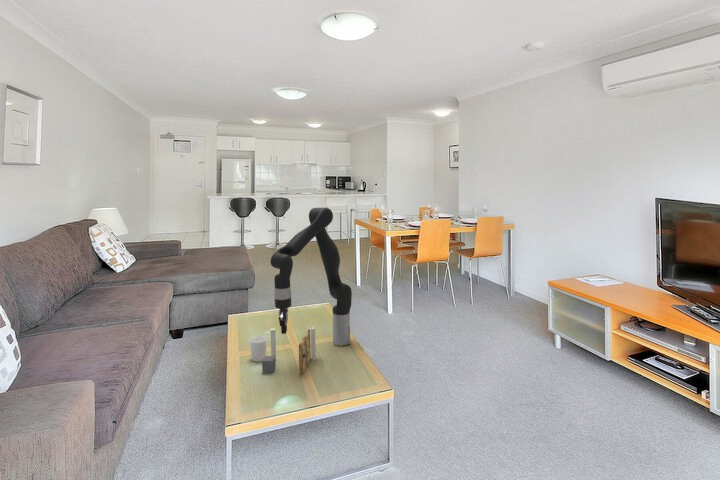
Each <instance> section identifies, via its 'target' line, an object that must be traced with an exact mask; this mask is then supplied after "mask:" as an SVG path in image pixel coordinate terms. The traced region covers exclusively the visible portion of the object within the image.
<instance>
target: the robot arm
mask: <svg viewBox="0 0 720 480" xmlns="http://www.w3.org/2000/svg"><path fill="white" fill-rule="evenodd" d="M308 219H309V220H308V221H309V223H310V224H309V225H308V226H307V227H305V228H304V229H302V230H301V231H299V232H298V233H296V234H295V235H294V236H293V237H292V238H291V239H290V240H289V241H288V242H287V244H285V245H284V246H282V247H280V248H279V249H278V250H276V252H274V253H273V254H272V256H271V258H270V265H271V267H272V268H275V269H279V273H277V274H276V275H275V276H274V280H273V281H274V282H273V283H274V295H273V296H274V307H275V308H276V309H279V311H278V322H279V327H280V330H281V331H280V332H281V334H282V335H286V334H287V331H288V320H289V319H288V318H289V308H291V307H292V289H291V276H292V271H293V267H294V260H293V258H292V257H297V256H298V255H299V254H300V253H301V252H302V251H303V250H304V248H305V247H306V246H307V245H308V244H309V243H310V242H311V241H312V240H313V239H314V238H315V239H316V243H317V247H318V250H319V254H320V258H321V260H322V263H323V267H324V272H325V274H326V275H325V276H326V279H327V283H328V284H327V285H328V291H329V295H330V296H331V297H332V298H333V299H335V300H336V305H334V306H333V307H332V344H333V345H334V344H335V346H337V345H339V346H338V347H344V346H343V345H346V346H348V345H347V344H350V345H351V320H350V319H351V317H350V316H351V313H350V312H351V307H352V297H353V292H352V288H351V286H350V285H348V284H346V283H343V282H342V280H341V276H340V271H339V270H340V264H341V257H340V253H339V249H338V246H337V244H336V242H334V240H333V239H332V238H331V236H330V235H329V233H328V232H327V227H328V226H329V225H330V224H331V223H332V221H333V219H334V213H333V211H332V209H331V208H328V207H313V208H311V209H310V210H309V212H308Z"/></svg>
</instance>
